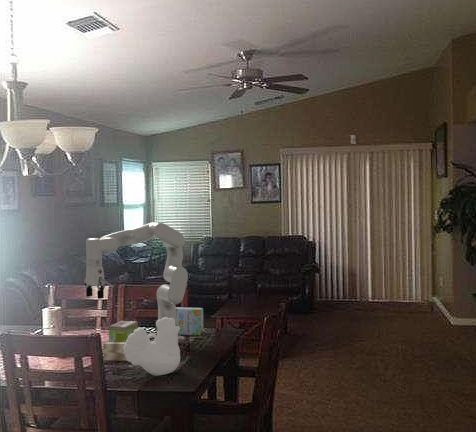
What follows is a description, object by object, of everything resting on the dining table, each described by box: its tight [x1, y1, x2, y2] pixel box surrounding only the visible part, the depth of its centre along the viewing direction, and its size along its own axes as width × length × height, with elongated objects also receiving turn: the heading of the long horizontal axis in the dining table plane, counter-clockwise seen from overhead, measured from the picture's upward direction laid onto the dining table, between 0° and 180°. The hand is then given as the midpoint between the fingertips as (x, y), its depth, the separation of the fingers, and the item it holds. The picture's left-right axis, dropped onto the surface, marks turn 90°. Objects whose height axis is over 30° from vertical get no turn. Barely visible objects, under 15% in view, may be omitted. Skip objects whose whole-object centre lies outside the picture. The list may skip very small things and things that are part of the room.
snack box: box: [176, 306, 204, 336], centre depth 334 cm, size 21×6×15 cm, turn 77°
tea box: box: [108, 320, 139, 342], centre depth 294 cm, size 15×10×15 cm, turn 168°
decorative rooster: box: [123, 317, 181, 377], centre depth 256 cm, size 25×16×25 cm, turn 99°
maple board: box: [102, 341, 127, 361], centre depth 280 cm, size 12×3×8 cm, turn 87°
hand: (94, 297), depth 288 cm, fingers open, 9 cm apart
